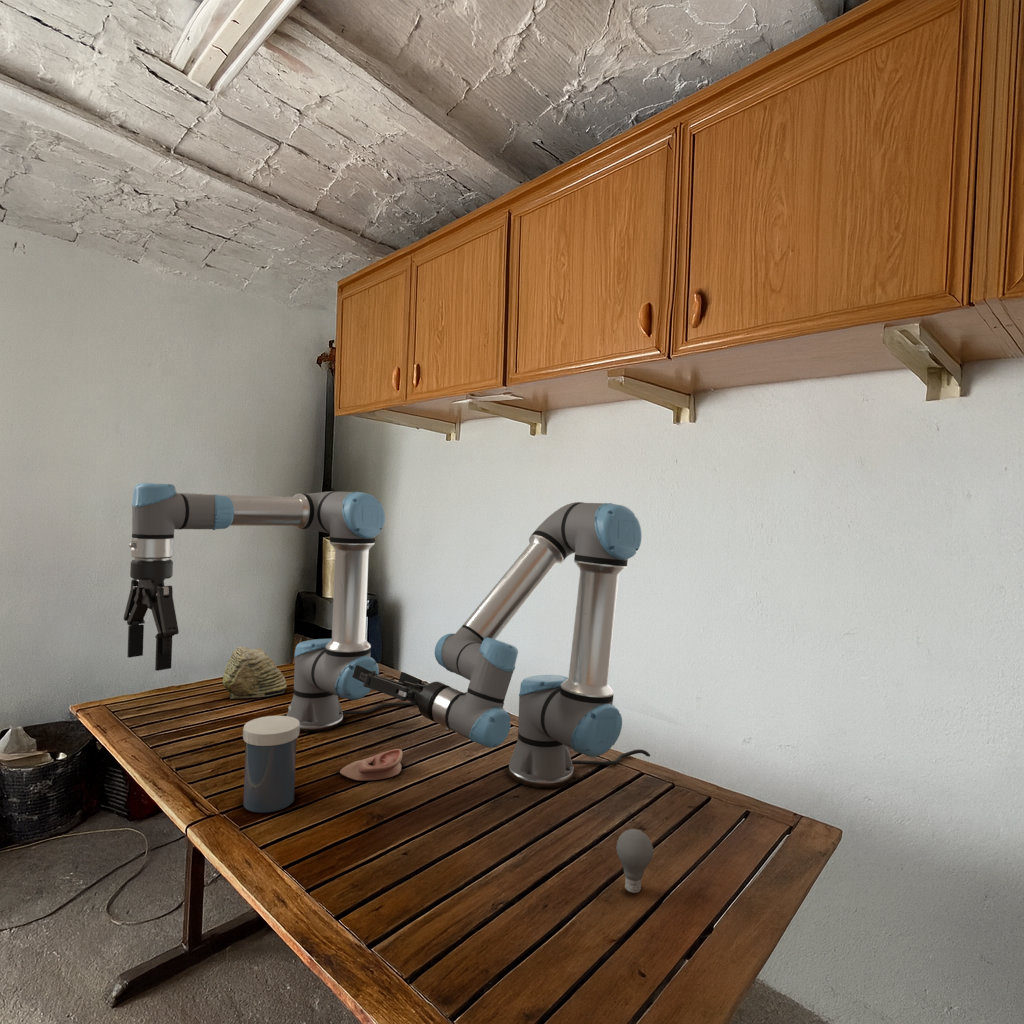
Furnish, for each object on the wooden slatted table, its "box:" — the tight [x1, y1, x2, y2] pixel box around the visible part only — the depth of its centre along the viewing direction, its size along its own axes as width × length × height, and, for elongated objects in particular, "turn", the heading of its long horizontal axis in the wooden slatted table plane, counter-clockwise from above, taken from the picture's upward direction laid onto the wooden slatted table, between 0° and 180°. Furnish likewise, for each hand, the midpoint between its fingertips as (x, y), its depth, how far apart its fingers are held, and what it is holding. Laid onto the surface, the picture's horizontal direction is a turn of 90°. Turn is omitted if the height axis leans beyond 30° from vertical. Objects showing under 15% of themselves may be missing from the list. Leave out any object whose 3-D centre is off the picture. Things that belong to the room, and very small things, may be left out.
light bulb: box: [615, 828, 654, 894], centre depth 106 cm, size 6×6×10 cm
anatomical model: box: [339, 748, 404, 782], centre depth 147 cm, size 13×4×12 cm
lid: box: [242, 715, 301, 746], centre depth 131 cm, size 11×11×2 cm
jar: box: [242, 737, 298, 814], centre depth 131 cm, size 10×10×16 cm
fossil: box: [222, 646, 288, 699], centre depth 198 cm, size 9×18×15 cm, turn 132°
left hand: (148, 662), depth 129 cm, fingers open, 13 cm apart
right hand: (378, 674), depth 142 cm, fingers open, 13 cm apart
